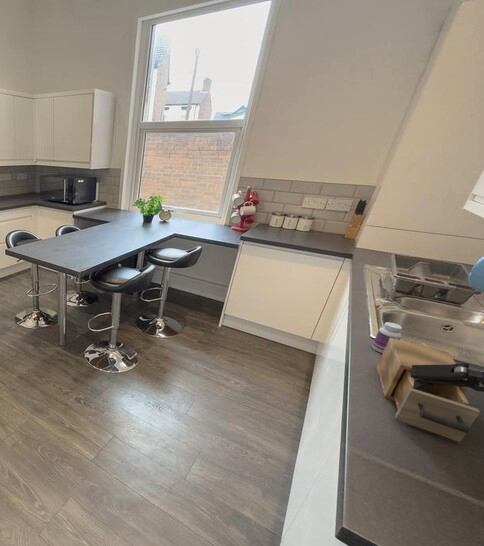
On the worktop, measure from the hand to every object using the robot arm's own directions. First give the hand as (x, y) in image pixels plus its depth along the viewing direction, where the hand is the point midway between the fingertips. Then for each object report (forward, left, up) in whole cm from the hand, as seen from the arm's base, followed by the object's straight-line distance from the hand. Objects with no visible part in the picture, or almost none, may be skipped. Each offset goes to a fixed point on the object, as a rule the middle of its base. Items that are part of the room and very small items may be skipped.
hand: (462, 397), depth 64 cm
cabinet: (0, -22, -15) cm, 27 cm away
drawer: (0, -10, -14) cm, 17 cm away
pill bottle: (+3, -43, -15) cm, 46 cm away
